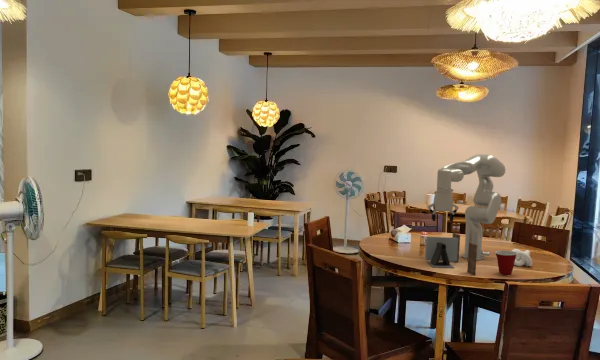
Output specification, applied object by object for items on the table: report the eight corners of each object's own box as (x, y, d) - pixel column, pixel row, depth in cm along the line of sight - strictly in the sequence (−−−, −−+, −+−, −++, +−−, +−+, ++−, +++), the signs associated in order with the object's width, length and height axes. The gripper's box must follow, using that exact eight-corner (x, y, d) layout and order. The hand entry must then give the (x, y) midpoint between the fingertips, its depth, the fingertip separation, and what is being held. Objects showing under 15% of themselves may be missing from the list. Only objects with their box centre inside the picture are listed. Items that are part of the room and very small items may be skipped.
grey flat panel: (457, 261, 254) (458, 238, 253) (425, 260, 254) (426, 236, 253) (455, 260, 256) (457, 237, 255) (424, 259, 256) (425, 236, 255)
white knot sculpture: (512, 261, 262) (513, 246, 262) (535, 265, 255) (536, 250, 254) (507, 265, 254) (508, 249, 253) (530, 269, 246) (531, 253, 245)
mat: (447, 263, 253) (447, 262, 253) (454, 268, 241) (454, 267, 241) (426, 262, 253) (426, 261, 253) (432, 267, 241) (432, 266, 241)
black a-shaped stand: (434, 265, 244) (435, 244, 243) (430, 262, 250) (431, 242, 249) (450, 265, 245) (451, 244, 244) (445, 263, 251) (446, 242, 250)
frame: (454, 259, 263) (455, 232, 262) (475, 275, 228) (477, 244, 227) (450, 259, 263) (452, 232, 262) (471, 275, 228) (473, 244, 227)
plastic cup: (493, 270, 240) (494, 248, 239) (515, 273, 236) (516, 250, 235) (494, 275, 230) (495, 252, 229) (517, 278, 226) (518, 255, 225)
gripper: (456, 190, 251) (455, 220, 252) (426, 190, 251) (425, 219, 252) (461, 191, 243) (460, 222, 245) (430, 191, 244) (428, 221, 245)
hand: (442, 221), depth 248 cm, fingers open, 9 cm apart
